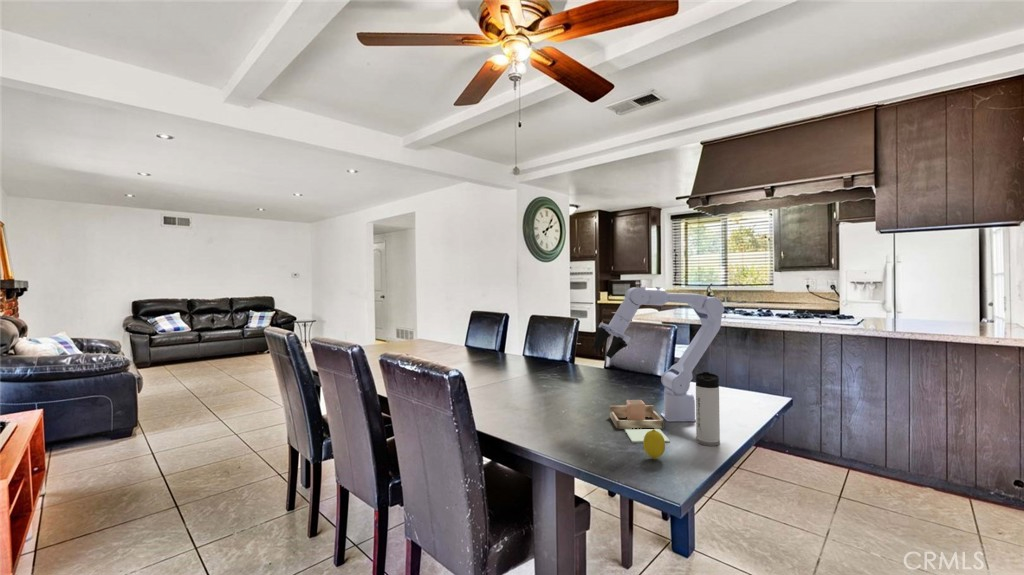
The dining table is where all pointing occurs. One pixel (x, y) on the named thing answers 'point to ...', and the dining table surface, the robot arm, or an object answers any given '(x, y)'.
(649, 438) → the lemon
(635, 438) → the mat
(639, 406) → the tan upright block
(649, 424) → the frame
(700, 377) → the travel mug
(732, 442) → the dining table surface
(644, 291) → the robot arm
